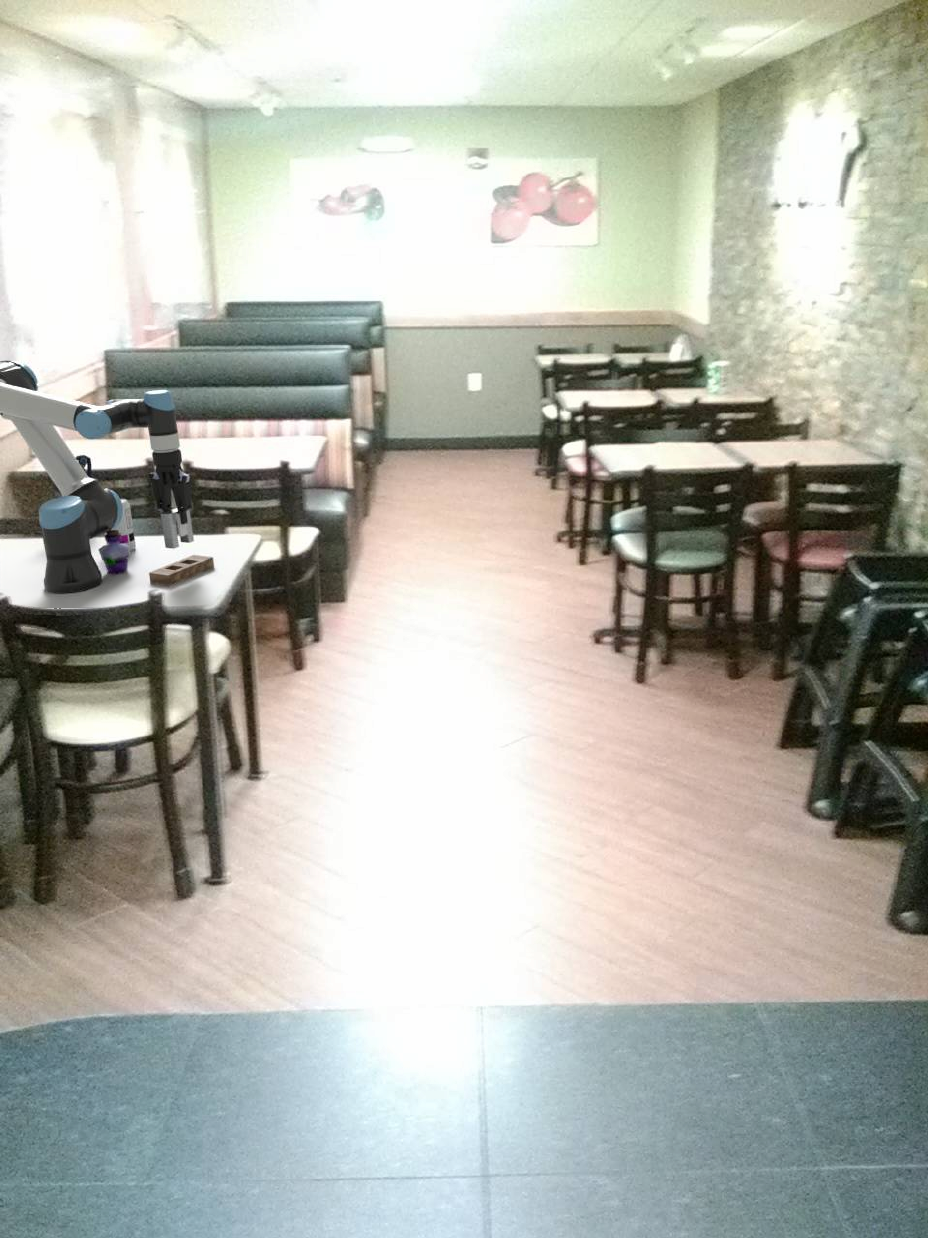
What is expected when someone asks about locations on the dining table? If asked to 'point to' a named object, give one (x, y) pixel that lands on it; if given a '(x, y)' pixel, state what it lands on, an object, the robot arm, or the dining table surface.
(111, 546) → the potion bottle
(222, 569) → the dining table surface
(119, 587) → the dining table surface
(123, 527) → the supplement can
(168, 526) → the clip
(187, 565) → the wooden socket base
